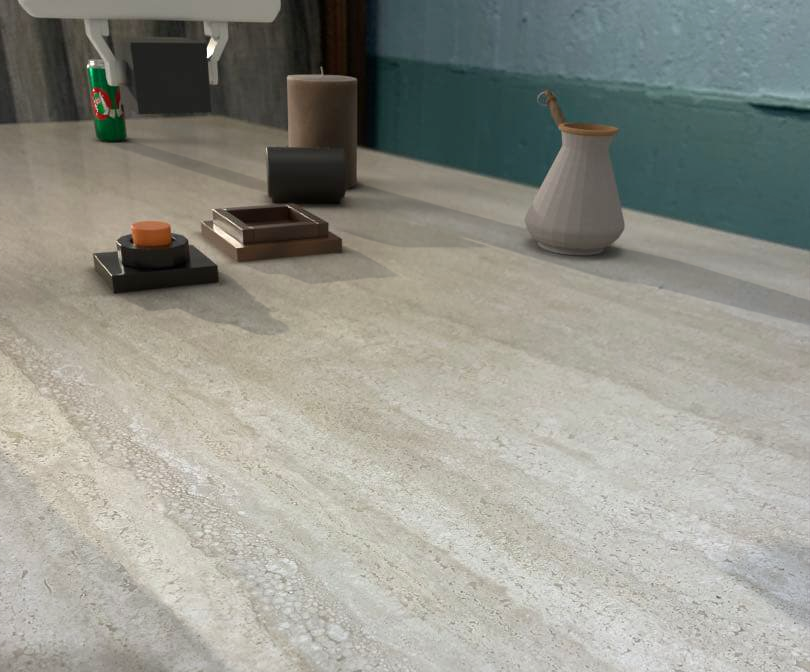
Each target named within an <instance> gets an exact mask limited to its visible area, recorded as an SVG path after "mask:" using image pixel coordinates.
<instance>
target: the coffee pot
mask: <svg viewBox="0 0 810 672" xmlns="http://www.w3.org/2000/svg"><path fill="white" fill-rule="evenodd" d="M543 94H544V97H545V99H546V101H545V103H546V104H542V103H541V102H540V101H539V99H540V96H543ZM536 100H537V103H538V104H539V105H540V106H542V107H549V109H550V115H551V117H552V118H553V120H554V122H555V124H556V126H557V128H558V130H559V131H560V133H561V142H562V145H561V148H560V150H559V152H558V153H557V155H556V157H555V159H554V161H553V162H552V165H551V166H550V168H549V170H548V172H547V174H546V176H545V178H544V180H543V181H542V184H541V185H540V187H539V189H538V191H537V193H536V194H535V197H534V199H533V200H532V202H531V204H530V206H529V208H528V210H527V212H526V214H525V216H524V223H525V226H526V230H527V231H528V233H529V234H530V235H531V237H532V238H533V239H534V240H535V241H537V245H538V247H540V248H541V249H542V250H545V251H548V252H551V253H552V252H553V253H556V254H561V255H569V256H570V255H571V256H592V255H594V256H595V255H598V254H602V253H603V252H604V251H605V248H607V247H610V246H611V245H612V244H614V243H615V242H616V241H617V240H619V238H620V237H621V236H622V234H623V233H624V231H625V225H626V224H625V219H624V214H623V209H622V205H621V201H620V196H619V195H620V194H619V191H618V187H617V182H616V178H615V177H616V176H615V173H614V168H613V164H612V159H611V155H610V151H609V149H610V146H611V143H612V142H613V140H614V137H615V135H616V134H617V135H618V132H619V131H620V130H619V127H616V126H613V125H606V124H599V123H588V122H567V121H566V119H565V116H564V113H563V111H562V108H561V107H560V106H559V104H558V103H557V102H558V101H557V100H558V99H557V97H556V94H555V93H553V91H551V90H550V89H549V88H546V89H545V90H544V91H542V92H540V93H539V94H538V96H537V98H536Z"/></svg>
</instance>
